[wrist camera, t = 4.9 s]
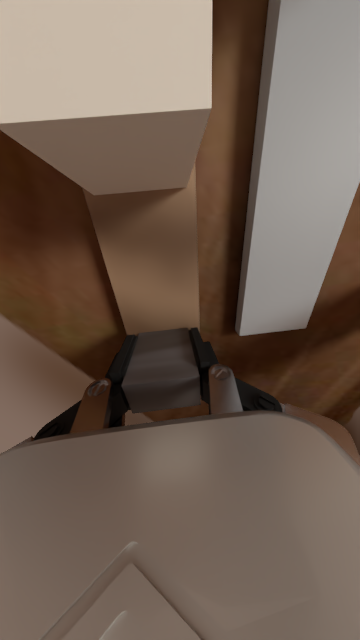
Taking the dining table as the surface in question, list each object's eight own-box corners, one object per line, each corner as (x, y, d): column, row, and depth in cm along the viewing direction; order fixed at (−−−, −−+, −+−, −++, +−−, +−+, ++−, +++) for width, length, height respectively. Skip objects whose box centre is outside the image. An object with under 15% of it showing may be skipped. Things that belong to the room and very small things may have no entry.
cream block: (45, 24, 5) (-531, -1027, 1) (178, 17, 6) (220, -939, 1) (94, 195, 8) (-9, 124, 3) (186, 187, 8) (211, 108, 3)
